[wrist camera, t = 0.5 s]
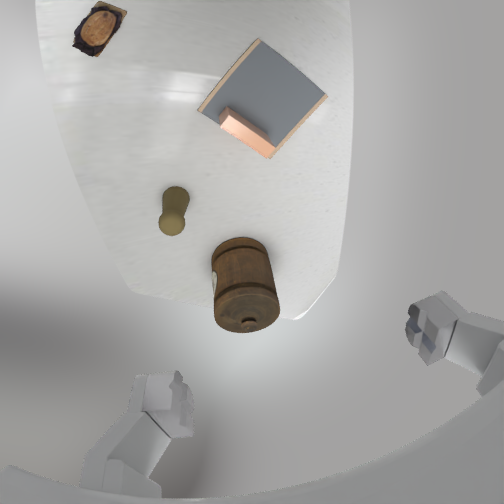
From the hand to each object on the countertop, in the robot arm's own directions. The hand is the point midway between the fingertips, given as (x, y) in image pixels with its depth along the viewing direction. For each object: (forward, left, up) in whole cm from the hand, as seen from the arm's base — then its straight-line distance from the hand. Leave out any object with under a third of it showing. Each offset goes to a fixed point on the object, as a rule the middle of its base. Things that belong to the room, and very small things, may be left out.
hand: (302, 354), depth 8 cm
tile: (+3, +7, -49) cm, 49 cm away
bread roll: (0, -29, -50) cm, 58 cm away
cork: (+24, +5, -50) cm, 55 cm away
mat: (-4, +7, -49) cm, 50 cm away
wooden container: (+31, +28, -50) cm, 65 cm away
